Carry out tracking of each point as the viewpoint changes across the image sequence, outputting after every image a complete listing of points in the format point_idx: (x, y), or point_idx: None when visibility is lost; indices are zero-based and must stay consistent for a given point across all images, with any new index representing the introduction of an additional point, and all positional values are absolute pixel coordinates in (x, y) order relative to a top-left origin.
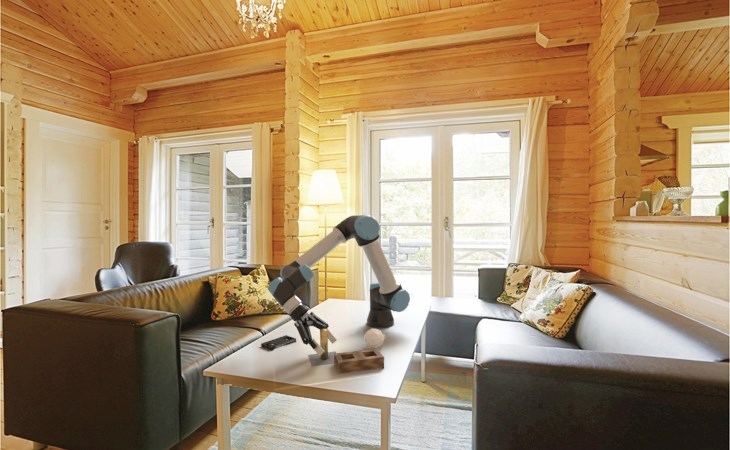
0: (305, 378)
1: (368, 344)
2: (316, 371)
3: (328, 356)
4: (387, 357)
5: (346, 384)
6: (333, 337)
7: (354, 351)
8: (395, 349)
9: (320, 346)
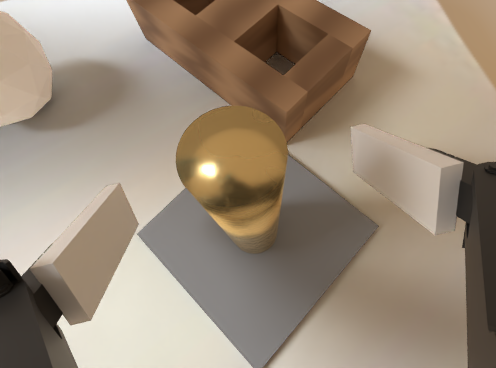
0: None
1: (44, 82)
2: None
3: (218, 226)
4: (113, 20)
5: (397, 17)
6: (110, 203)
7: (201, 47)
8: None
9: (376, 137)
